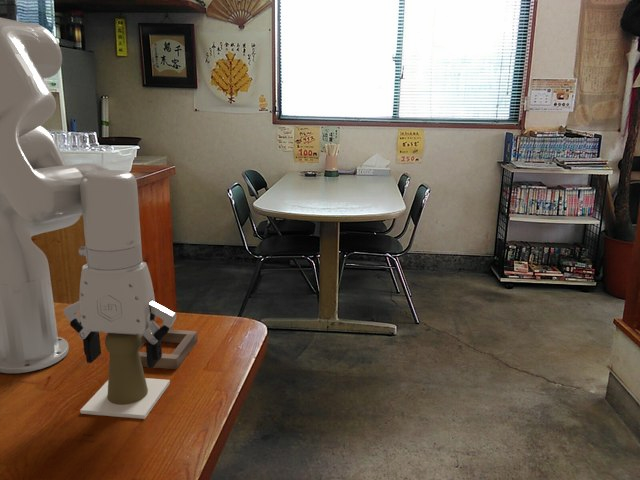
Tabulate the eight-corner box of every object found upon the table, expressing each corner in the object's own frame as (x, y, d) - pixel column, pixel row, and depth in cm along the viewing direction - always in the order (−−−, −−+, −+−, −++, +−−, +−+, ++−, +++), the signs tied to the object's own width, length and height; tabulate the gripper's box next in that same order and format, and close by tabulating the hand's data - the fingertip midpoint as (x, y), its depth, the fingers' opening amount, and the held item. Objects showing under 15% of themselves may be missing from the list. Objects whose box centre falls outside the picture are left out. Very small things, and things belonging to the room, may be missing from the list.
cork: (134, 407, 80) (128, 341, 77) (99, 401, 81) (92, 336, 78) (155, 386, 86) (150, 324, 83) (121, 381, 87) (116, 319, 84)
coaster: (80, 413, 79) (80, 410, 79) (112, 378, 89) (112, 375, 89) (144, 418, 78) (144, 415, 78) (170, 383, 88) (170, 379, 88)
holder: (116, 364, 93) (115, 354, 93) (143, 336, 104) (142, 327, 103) (177, 369, 92) (176, 358, 92) (197, 340, 103) (197, 331, 102)
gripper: (43, 260, 74) (56, 369, 79) (162, 267, 73) (168, 378, 77) (72, 245, 81) (83, 345, 86) (181, 251, 80) (186, 353, 85)
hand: (123, 361), depth 82 cm, fingers open, 9 cm apart
